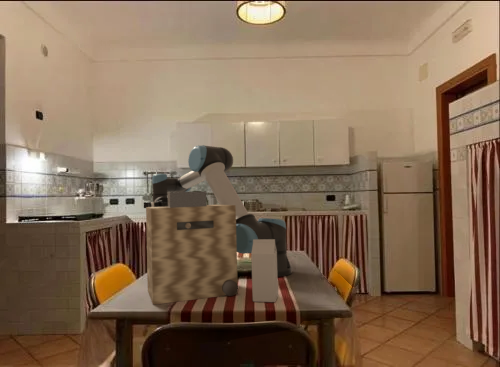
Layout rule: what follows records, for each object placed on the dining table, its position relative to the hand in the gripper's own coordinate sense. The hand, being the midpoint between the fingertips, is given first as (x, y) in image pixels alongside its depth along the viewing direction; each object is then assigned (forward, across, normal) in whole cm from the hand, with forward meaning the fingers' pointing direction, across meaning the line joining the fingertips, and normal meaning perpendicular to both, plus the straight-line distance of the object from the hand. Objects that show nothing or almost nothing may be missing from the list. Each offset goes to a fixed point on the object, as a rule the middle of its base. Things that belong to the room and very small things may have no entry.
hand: (169, 204), depth 162 cm
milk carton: (+54, -22, -30) cm, 66 cm away
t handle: (+28, 0, 0) cm, 28 cm away
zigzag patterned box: (+35, -2, -30) cm, 46 cm away
